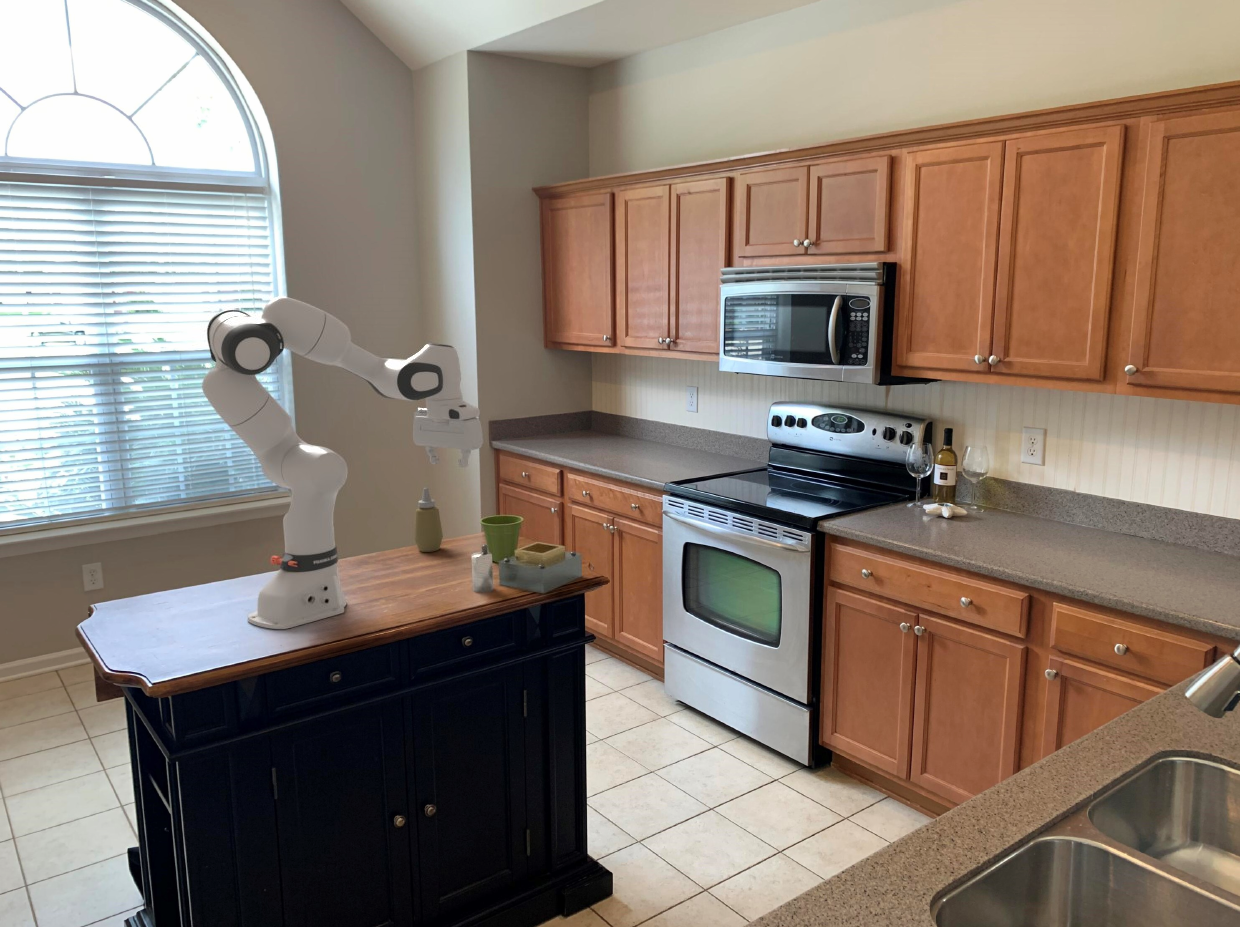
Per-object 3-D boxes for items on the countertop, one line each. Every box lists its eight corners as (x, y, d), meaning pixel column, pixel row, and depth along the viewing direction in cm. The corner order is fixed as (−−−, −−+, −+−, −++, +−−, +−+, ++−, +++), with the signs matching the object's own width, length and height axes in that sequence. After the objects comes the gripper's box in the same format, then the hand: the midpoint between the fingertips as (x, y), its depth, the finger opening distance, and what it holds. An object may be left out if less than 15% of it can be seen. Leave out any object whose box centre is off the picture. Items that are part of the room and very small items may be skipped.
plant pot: (531, 561, 258) (529, 521, 256) (489, 568, 253) (487, 527, 251) (516, 551, 269) (514, 512, 267) (475, 557, 264) (473, 517, 262)
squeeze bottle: (415, 554, 267) (411, 492, 264) (414, 547, 275) (410, 486, 272) (444, 552, 269) (441, 490, 266) (442, 544, 277) (438, 484, 274)
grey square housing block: (543, 593, 231) (542, 559, 229) (499, 584, 239) (498, 552, 237) (582, 576, 244) (581, 544, 243) (539, 568, 252) (537, 537, 250)
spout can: (484, 594, 232) (482, 550, 230) (468, 590, 234) (466, 547, 232) (497, 588, 236) (495, 545, 234) (482, 585, 238) (480, 542, 236)
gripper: (404, 409, 235) (409, 464, 238) (467, 413, 225) (471, 470, 227) (422, 406, 241) (427, 459, 243) (484, 409, 230) (488, 465, 233)
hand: (449, 465), depth 235 cm, fingers open, 8 cm apart
